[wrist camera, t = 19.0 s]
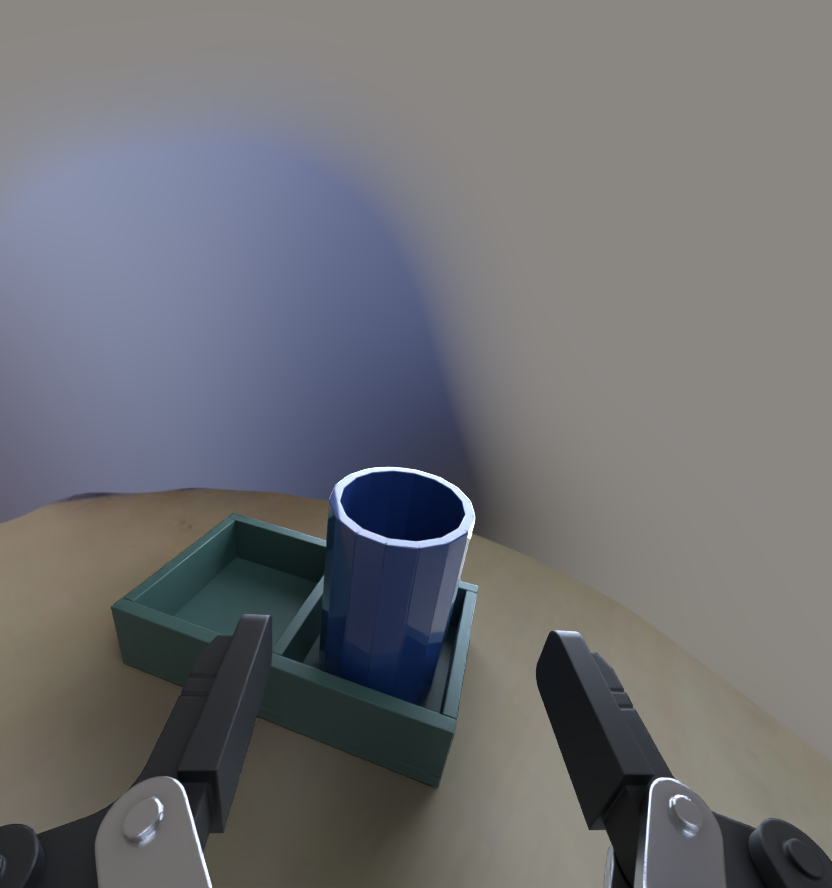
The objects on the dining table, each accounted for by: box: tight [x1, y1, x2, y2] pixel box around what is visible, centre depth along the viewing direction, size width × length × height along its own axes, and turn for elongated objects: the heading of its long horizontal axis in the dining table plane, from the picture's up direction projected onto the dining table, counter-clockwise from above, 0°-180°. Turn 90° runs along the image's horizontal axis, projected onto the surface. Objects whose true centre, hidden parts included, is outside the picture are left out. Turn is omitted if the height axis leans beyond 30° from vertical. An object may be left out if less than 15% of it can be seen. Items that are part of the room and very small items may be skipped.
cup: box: [319, 467, 475, 706], centre depth 19 cm, size 6×6×10 cm
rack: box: [111, 513, 478, 788], centre depth 21 cm, size 8×16×4 cm, turn 75°
